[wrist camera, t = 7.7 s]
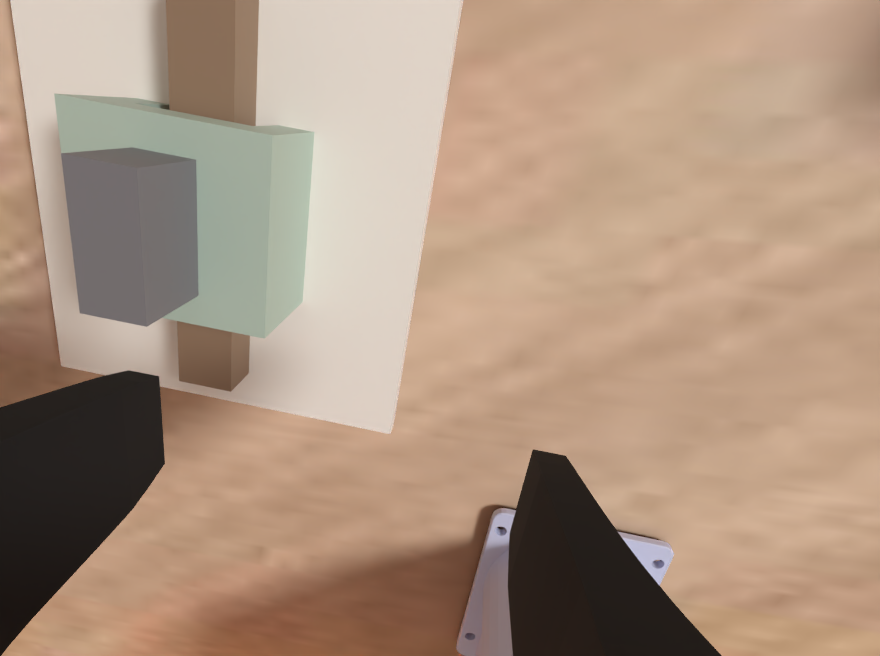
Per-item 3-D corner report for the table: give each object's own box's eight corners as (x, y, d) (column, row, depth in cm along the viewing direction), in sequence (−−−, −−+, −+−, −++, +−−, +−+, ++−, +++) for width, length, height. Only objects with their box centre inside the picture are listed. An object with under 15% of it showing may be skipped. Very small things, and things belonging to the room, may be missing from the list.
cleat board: (393, 423, 22) (382, 456, 19) (75, 357, 22) (31, 383, 20) (466, -20, 15) (462, -42, 13) (18, -102, 16) (-57, -137, 13)
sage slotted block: (302, 302, 19) (225, 376, 13) (146, 270, 19) (8, 332, 14) (314, 132, 17) (226, 139, 11) (136, 97, 17) (-36, 88, 11)
